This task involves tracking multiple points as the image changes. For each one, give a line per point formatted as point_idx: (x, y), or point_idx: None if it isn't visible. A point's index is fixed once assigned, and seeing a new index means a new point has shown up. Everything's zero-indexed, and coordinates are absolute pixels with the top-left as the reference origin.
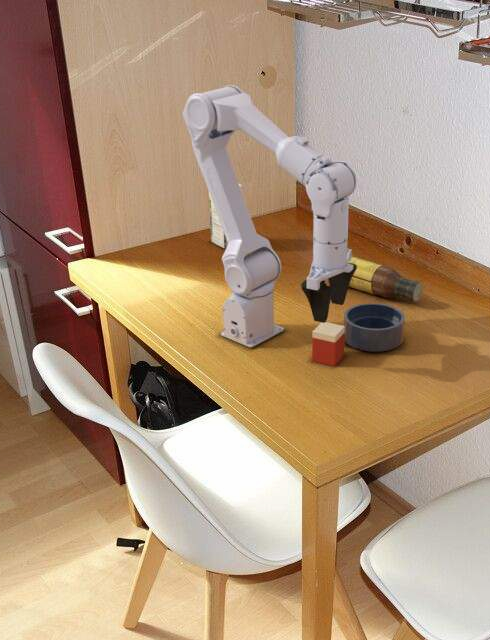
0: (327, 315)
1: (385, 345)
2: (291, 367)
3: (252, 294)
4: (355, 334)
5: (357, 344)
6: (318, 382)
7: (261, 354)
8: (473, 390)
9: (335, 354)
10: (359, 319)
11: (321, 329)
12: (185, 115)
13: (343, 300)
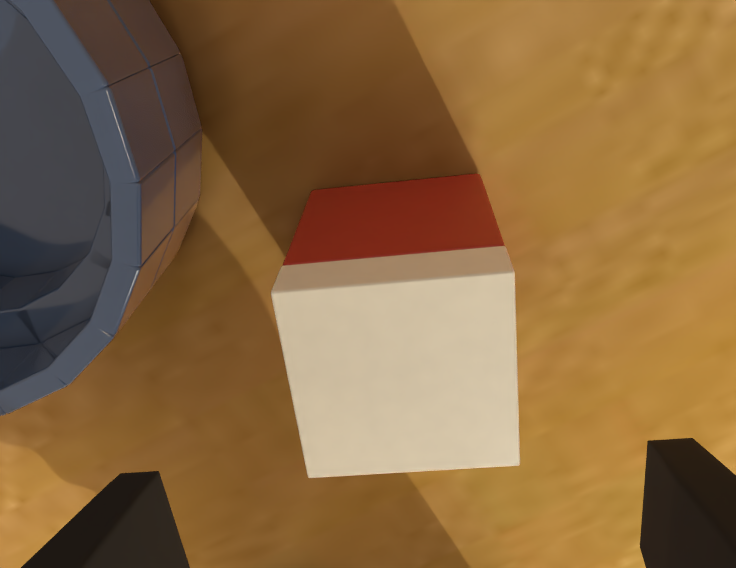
0: (704, 488)
1: None
2: (611, 383)
3: None
4: (168, 201)
5: (191, 154)
6: (730, 159)
7: (546, 558)
8: None
9: (479, 202)
10: None
11: (448, 425)
12: None
13: (132, 508)
